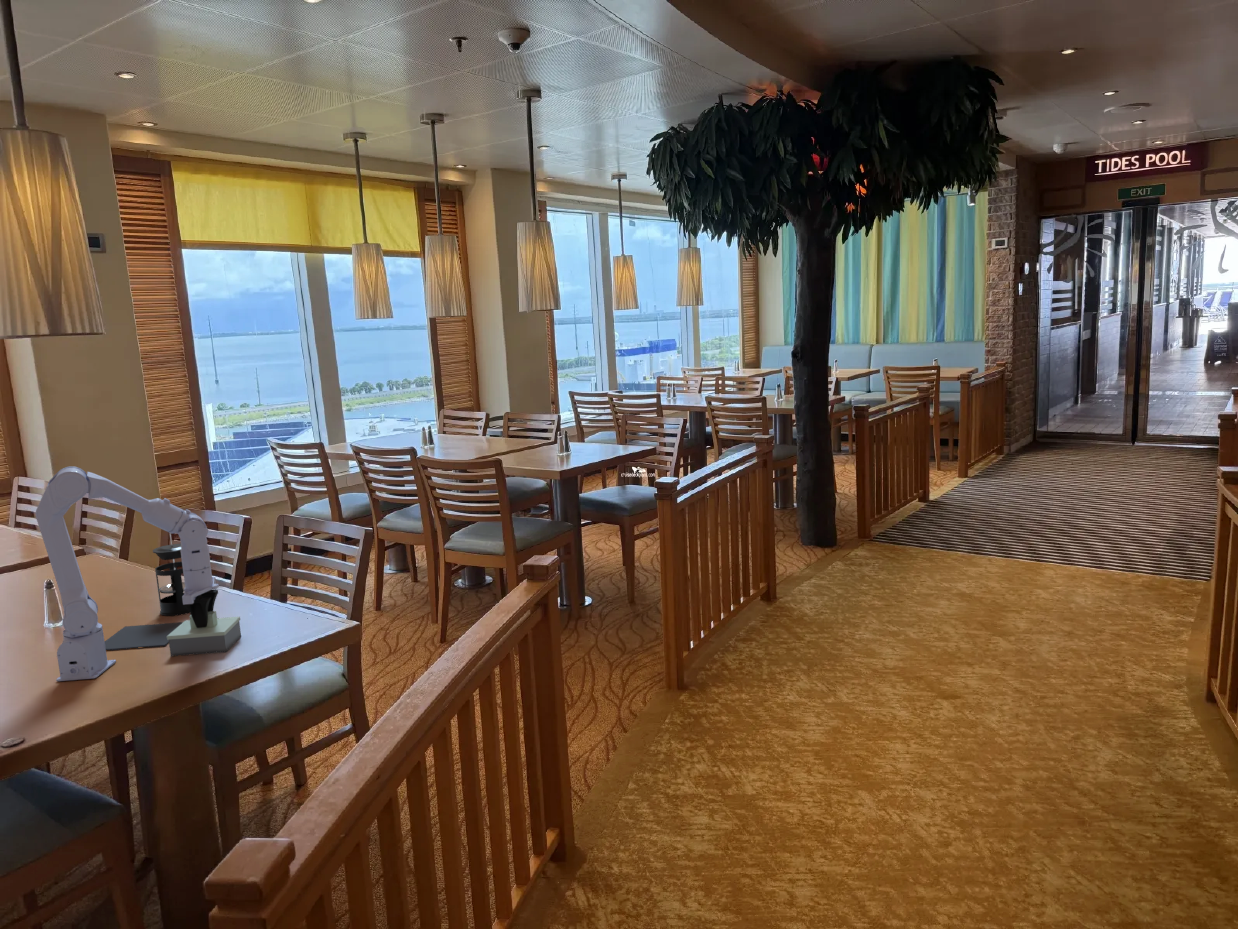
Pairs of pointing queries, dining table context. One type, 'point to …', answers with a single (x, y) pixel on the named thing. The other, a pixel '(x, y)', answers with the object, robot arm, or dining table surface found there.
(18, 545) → the dining table surface
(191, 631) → the lid
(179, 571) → the french press
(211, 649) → the tub
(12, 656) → the dining table surface
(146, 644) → the mat
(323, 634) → the dining table surface
